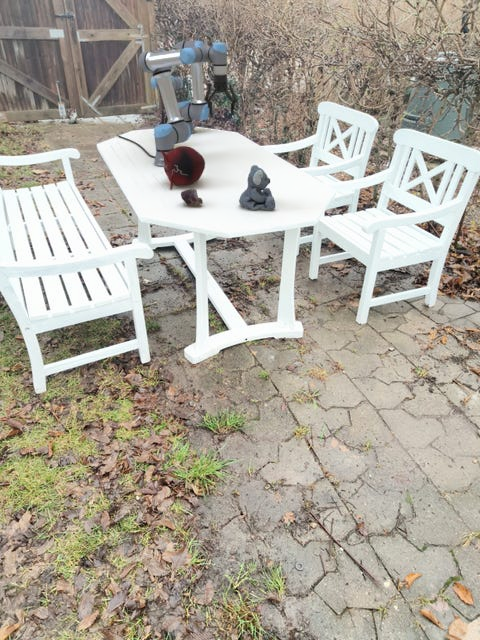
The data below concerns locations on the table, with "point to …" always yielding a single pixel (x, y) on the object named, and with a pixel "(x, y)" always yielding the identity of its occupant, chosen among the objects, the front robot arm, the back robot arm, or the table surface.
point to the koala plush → (257, 191)
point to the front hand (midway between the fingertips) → (221, 114)
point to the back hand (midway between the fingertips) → (173, 135)
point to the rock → (191, 197)
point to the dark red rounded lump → (183, 165)
